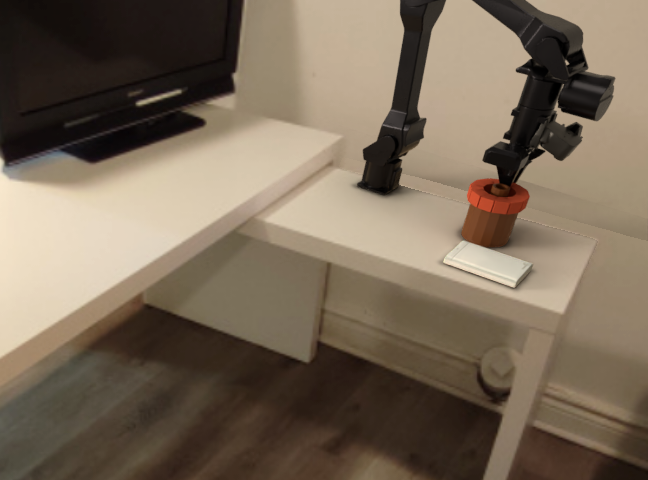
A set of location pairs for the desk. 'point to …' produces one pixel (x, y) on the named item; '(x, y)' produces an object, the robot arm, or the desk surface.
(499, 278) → the hard drive
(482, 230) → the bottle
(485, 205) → the orange faceted ring
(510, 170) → the robot arm
